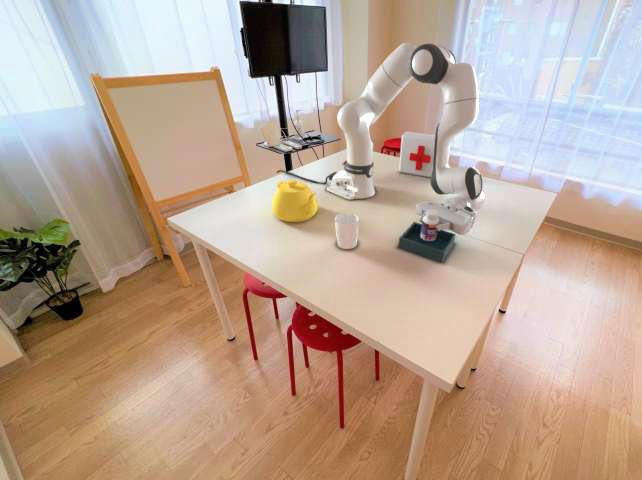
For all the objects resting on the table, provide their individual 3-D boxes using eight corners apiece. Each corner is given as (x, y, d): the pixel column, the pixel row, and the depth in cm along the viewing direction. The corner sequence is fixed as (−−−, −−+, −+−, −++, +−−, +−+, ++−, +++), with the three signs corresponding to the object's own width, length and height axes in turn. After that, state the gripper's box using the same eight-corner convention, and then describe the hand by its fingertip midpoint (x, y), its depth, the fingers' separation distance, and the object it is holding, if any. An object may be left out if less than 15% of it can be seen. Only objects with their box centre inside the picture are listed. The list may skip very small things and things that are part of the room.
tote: (398, 247, 105) (399, 237, 102) (412, 231, 114) (413, 221, 111) (442, 262, 99) (444, 252, 96) (453, 243, 108) (455, 234, 105)
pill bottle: (426, 243, 101) (430, 217, 96) (417, 235, 105) (420, 210, 99) (439, 239, 103) (444, 213, 98) (429, 231, 107) (433, 206, 101)
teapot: (335, 218, 120) (333, 185, 112) (297, 234, 110) (293, 200, 102) (298, 197, 134) (294, 167, 126) (261, 210, 124) (255, 178, 116)
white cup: (355, 251, 102) (355, 226, 96) (332, 248, 103) (331, 223, 98) (360, 239, 109) (361, 214, 103) (339, 236, 110) (338, 211, 104)
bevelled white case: (397, 173, 159) (400, 134, 148) (401, 168, 166) (405, 130, 154) (437, 180, 153) (443, 140, 142) (440, 175, 159) (447, 136, 148)
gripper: (430, 193, 113) (405, 204, 105) (480, 213, 100) (456, 228, 93) (428, 208, 116) (404, 220, 108) (476, 230, 104) (452, 245, 96)
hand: (428, 224), depth 100 cm, fingers closed on pill bottle, 5 cm apart
